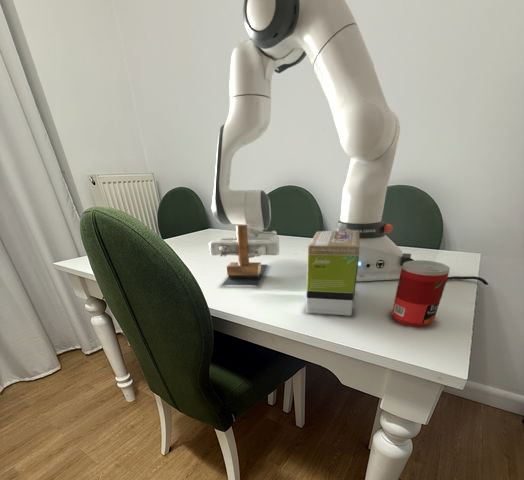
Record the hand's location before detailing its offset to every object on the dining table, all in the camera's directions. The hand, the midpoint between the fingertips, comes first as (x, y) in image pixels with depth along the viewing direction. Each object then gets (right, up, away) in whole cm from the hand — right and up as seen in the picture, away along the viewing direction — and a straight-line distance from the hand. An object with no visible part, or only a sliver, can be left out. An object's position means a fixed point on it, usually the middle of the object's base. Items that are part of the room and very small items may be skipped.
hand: (239, 253), depth 77 cm
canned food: (+37, -20, -17) cm, 45 cm away
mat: (+1, -3, +11) cm, 11 cm away
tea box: (+22, -15, -9) cm, 28 cm away
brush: (+1, -4, +8) cm, 9 cm away
